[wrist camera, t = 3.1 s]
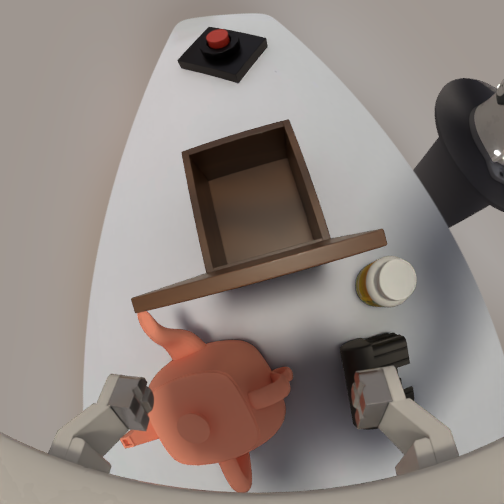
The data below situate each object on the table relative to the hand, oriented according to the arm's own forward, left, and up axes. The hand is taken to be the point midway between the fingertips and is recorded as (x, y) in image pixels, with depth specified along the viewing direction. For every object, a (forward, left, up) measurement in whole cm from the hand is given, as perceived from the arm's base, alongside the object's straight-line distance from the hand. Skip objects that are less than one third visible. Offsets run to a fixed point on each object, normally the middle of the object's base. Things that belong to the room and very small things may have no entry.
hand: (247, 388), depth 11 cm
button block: (+29, -34, -27) cm, 52 cm away
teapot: (+3, +11, -27) cm, 29 cm away
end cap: (-13, 0, -27) cm, 30 cm away
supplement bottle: (-8, -10, -27) cm, 30 cm away
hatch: (+4, -5, -10) cm, 12 cm away
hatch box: (+9, -11, -27) cm, 30 cm away
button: (+29, -34, -23) cm, 51 cm away
